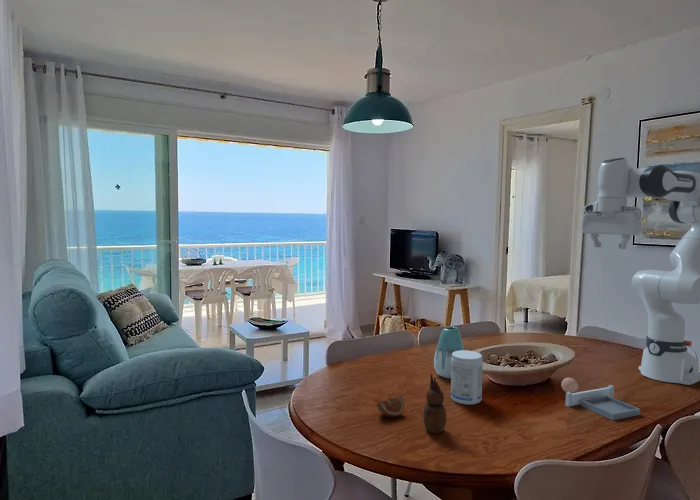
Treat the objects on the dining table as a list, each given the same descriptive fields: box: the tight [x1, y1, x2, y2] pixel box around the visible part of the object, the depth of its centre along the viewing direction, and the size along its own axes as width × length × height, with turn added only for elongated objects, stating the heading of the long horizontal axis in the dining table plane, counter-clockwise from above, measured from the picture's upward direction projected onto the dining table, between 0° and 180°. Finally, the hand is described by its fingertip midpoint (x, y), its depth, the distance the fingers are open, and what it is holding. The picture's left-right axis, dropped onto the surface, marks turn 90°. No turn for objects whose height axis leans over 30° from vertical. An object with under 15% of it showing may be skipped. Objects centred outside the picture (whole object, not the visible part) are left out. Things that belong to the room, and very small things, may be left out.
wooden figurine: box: [422, 373, 447, 434], centre depth 124 cm, size 7×6×15 cm
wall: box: [565, 384, 615, 407], centre depth 145 cm, size 19×1×4 cm, turn 112°
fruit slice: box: [376, 395, 405, 418], centre depth 134 cm, size 8×7×5 cm
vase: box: [433, 326, 465, 380], centre depth 168 cm, size 12×12×18 cm
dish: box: [580, 396, 641, 421], centre depth 139 cm, size 11×11×2 cm
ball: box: [561, 377, 579, 393], centre depth 153 cm, size 5×5×5 cm
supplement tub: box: [450, 349, 483, 406], centre depth 146 cm, size 10×10×15 cm
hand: (609, 248), depth 155 cm, fingers open, 8 cm apart
